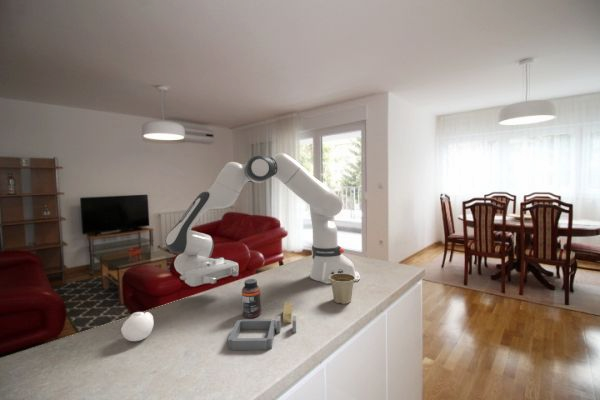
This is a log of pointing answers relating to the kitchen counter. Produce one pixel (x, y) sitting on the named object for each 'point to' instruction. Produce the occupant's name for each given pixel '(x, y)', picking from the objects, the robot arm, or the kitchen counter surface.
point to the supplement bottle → (251, 299)
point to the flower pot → (342, 287)
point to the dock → (256, 343)
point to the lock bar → (287, 312)
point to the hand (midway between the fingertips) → (226, 277)
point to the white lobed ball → (138, 326)
